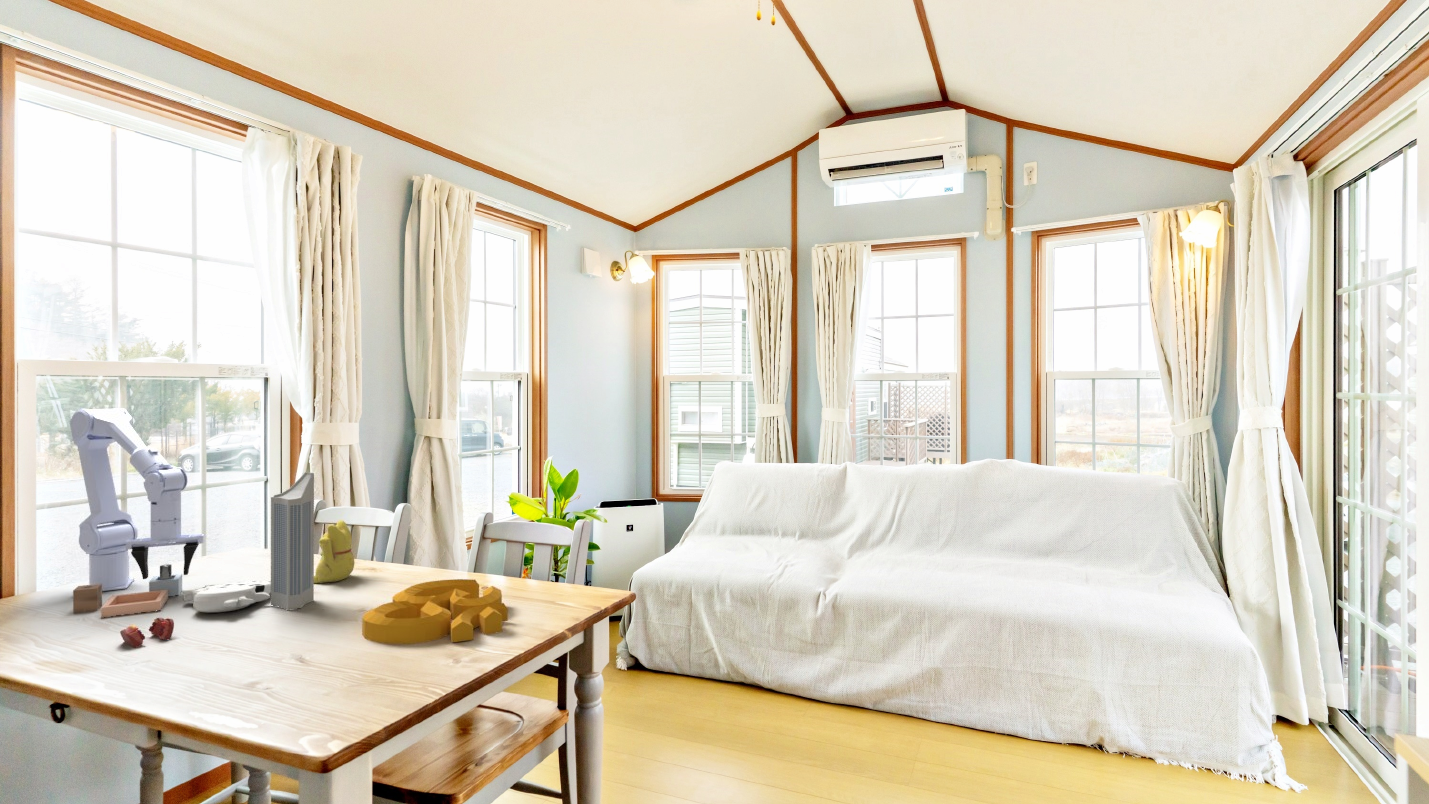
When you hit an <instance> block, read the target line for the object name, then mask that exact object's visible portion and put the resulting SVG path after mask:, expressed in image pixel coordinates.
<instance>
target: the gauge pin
mask: <svg viewBox="0 0 1429 804" xmlns="http://www.w3.org/2000/svg"><path fill="white" fill-rule="evenodd" d="M172 571H173V570H172V564H169V563H168V564H161V565H159V576H160V580H165V579H172V575H173V573H172Z"/></svg>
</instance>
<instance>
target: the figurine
mask: <svg viewBox="0 0 1429 804" xmlns="http://www.w3.org/2000/svg"><path fill="white" fill-rule="evenodd" d="M352 541H353V539H352V532H351V530H350V529H349V527H348V524H347V522H346V521H344V520H342V519H340V520H338V521H337V523H336V525H334V524H332V523H331V524H329V525H328V526H327V532H325V533H324V534H323V536H322V537H321V538H320V539H319V540H318V544H319V547H320V548H321V550H322V552H320V556H321V558H320V560H319V562H318V564H317V566H316V568H315V574H314V584H325V583H334V582H339V581H342V580H345V579H346V578H348V577H349V576H351V574H352V572H353V571H354V568H355V556H354V553H353V551H352Z"/></svg>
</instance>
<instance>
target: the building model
mask: <svg viewBox="0 0 1429 804" xmlns="http://www.w3.org/2000/svg"><path fill="white" fill-rule="evenodd" d="M314 552H315V472H308V471H306V472H304V473H303V474H302V475H301V476H300V478H298V480H297V481H295V482H294V484H292V485H291V486H290V487H289V488H288V489H286V490H285V491H282V492H281V493H276V494H274V495H272V497H271V496H270V582H271V593H270V606H271V605H273V606H272V607H275V606H279V607H278V608H280V607H282V608H281V609H283V608H285V609H284V610H286V609H287V610H286V611H291V610H290V609H294V610H298V609H297V608H301V607H304V606H305V605H307V604H308V603H311V602H313V601H314V599H315V597H314V593H315V592H314V589H315V587H314V584H315V583H314V576H315V574H314V573H315V572H314V571H315V570H314V567H315V566H314V565H315V563H314V562H315V561H314V560H315V558H314V557H315V553H314ZM312 600H313V601H312ZM310 601H311V602H310ZM306 603H307V604H306ZM304 604H305V605H304ZM303 605H304V606H303ZM301 609H302V608H301Z"/></svg>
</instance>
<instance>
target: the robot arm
mask: <svg viewBox="0 0 1429 804" xmlns="http://www.w3.org/2000/svg"><path fill="white" fill-rule="evenodd" d="M69 426H70V430H71V435H72V441H73V444H74V445H75V446H77V452H78V455H79V456H78V457H79V461H80V465H81V466H80V467H81V471H82V477H83V480H84V486H85V491H86V496H87V499H88V501H87V502H88V507H89V511H90V515H89V516H87V517H86V518H85V519H84V520H83V521H82V522H81V523H80V524H79V525H78V527H79V536H78V544H79V547H80V549H82V551H83V552H84V553H85V554H87V555H88V558H89V559H88V560H89V561H88V562H89V563H88V566H89V567H88V575H89V576H88V579H89V581H88V585H93V584H102V592H105V591H115V590H116V591H117V590H124V589H127V588H129V586H130V585H131V584H132V583H133V581H134V580H135V577H130V555H129V550H131V551H130V552H131V555H132V557H133V558H134V559H135V560H134V561H135V562H136V563H137V565H138V567H139V570H140V573H141V576H142V579H143V580H146V579H148V578H149V563H148V562H149V561H148V559H149V548H155V547H169V546H180V545H184V546H183V561H184V563H183V576H187V575H188V574H189V571H190V566H191V562H192V559H193V557H194V554H195V553H196V550H197V548H198V546H199V545H200V544H203V543H205V534H204V533H202V534H182V491H184V490H185V489H186V487H187V486H188V475H187V472H185V470H184V469H183V468H182V467H178V466H175V465H171V464H170V463H169V461H167V459H165V457H164V456H163V455H162V454H161V453H160V452H159V450H158V449H157V448H155V447H153V446H147V445H146V444H145V443H144V441H143V440H142V438H141V437H140V436H139V434H138V433H137V432H136V430H135V429H134V428H133V417H132V416H131V415H130V413H129V411H127V410H126V409H125V408H123V407H121V408H120V407H117V408H95V409H93V408H92V409H91V408H89V409H88V408H87V409H86V408H79V409H77V410H76V411H75V412H74V413H73V415H72V416H71V419H70V421H69ZM115 442H116V443H117V444H118V445H119V446H120V447H122V449H123V450H125V451H126V452H127V453H128V454H129V455H130V457H129V463H130V464H131V466H132V467H133V468H134V469H135V470H136V471H137V472H138V473H139V475H140V476H141V477H142V478H143V479H144V481H143V488H144V490H145V491H146V493H147V501H148V502H150V537H143V538H138V535H139V533H138V529H137V526H136V525H135V524H134V522H133V517H132V515H130V514H129V513H127V512H125V511H123V510H121V509H120V508H119V502H118V498H117V493H116V487H115V483H114V479H113V474H112V473H113V472H112V467H111V462H110V458H109V454H108V447H110V444H113V443H115Z"/></svg>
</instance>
